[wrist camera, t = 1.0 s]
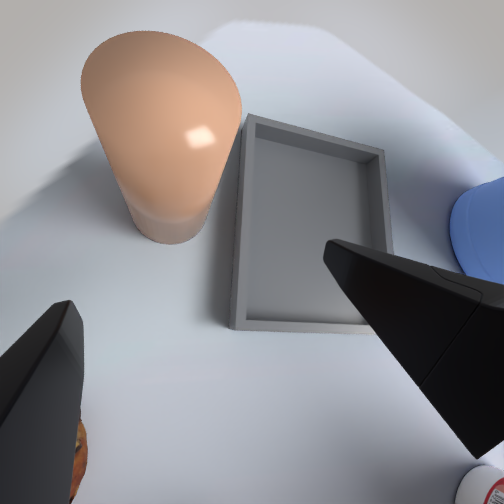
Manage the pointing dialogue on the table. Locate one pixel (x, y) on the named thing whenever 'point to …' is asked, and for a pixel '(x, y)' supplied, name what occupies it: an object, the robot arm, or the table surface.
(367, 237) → the grey tray
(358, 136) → the table surface
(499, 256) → the water jug
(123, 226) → the table surface
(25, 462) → the robot arm
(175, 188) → the peach rounded cylinder
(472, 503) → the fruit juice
